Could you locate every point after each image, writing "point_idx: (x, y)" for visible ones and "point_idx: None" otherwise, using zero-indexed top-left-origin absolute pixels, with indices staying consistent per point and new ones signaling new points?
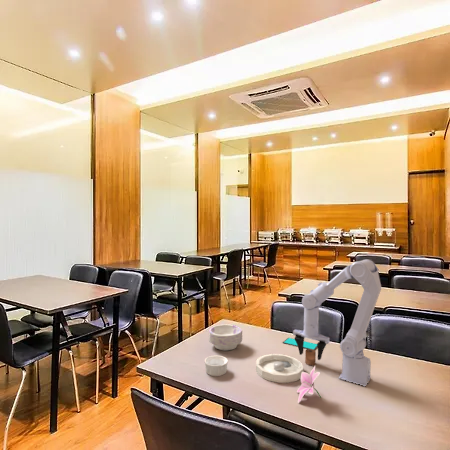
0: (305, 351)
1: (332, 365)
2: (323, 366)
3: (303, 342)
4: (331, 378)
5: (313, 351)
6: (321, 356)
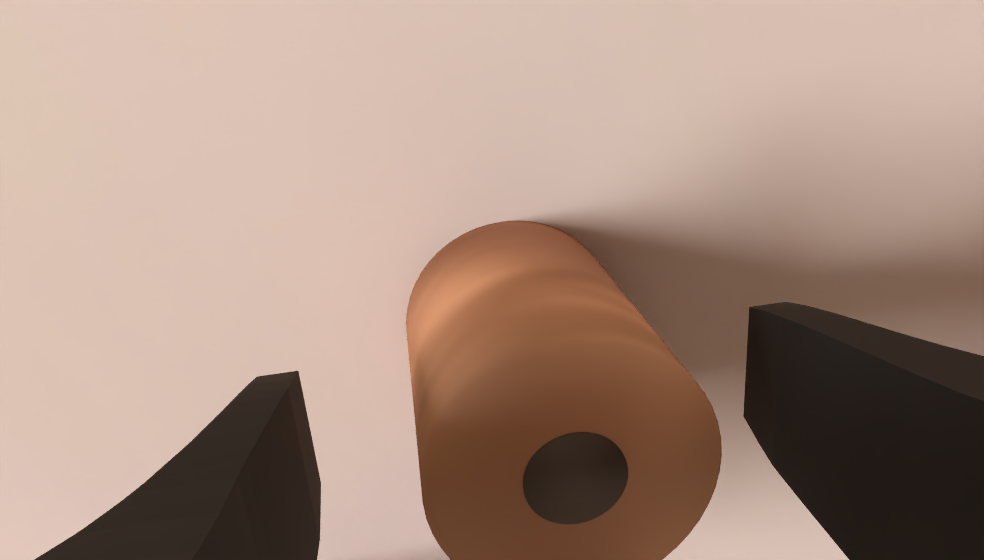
0: (440, 531)
1: (912, 84)
2: (770, 259)
3: (221, 527)
4: None
5: (655, 442)
6: (820, 315)
